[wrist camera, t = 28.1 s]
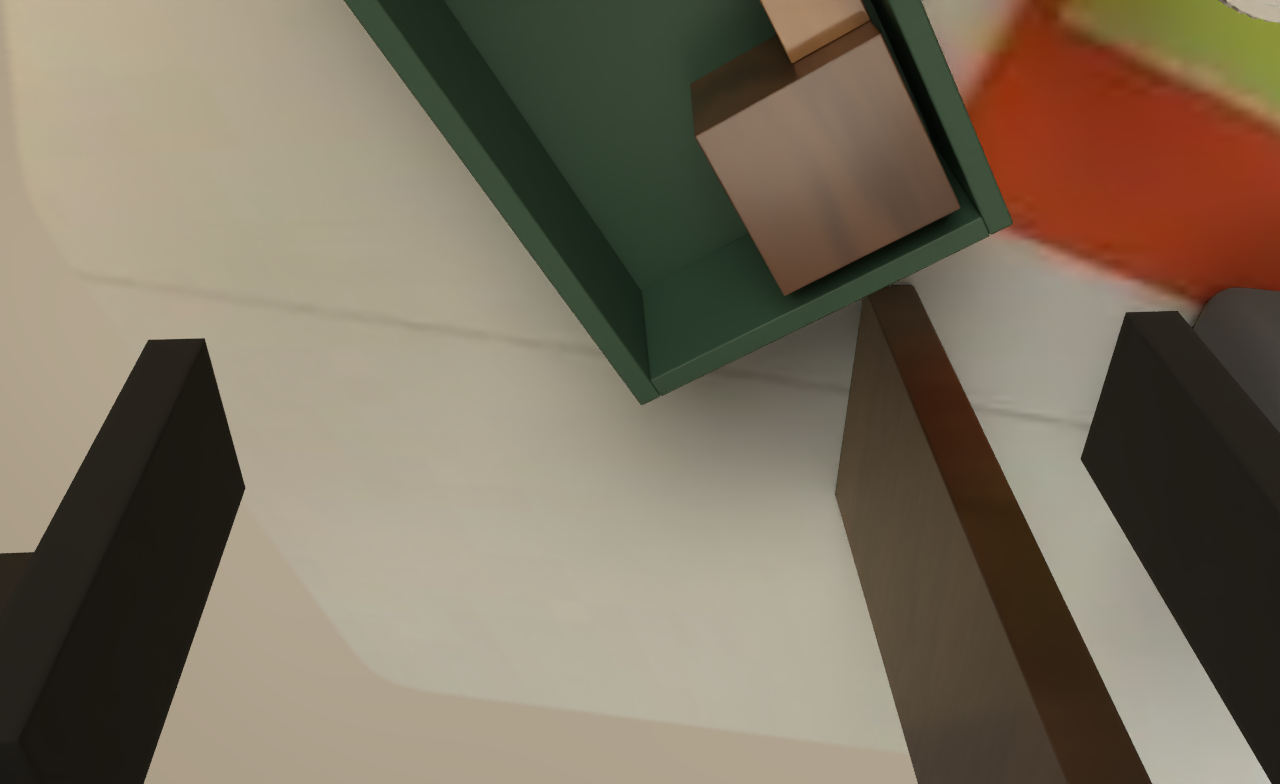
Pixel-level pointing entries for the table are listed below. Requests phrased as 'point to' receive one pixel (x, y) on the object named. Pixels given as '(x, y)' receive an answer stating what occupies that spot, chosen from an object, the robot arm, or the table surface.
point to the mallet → (819, 142)
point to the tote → (652, 164)
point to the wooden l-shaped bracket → (961, 579)
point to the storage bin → (1247, 342)
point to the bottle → (1256, 8)
